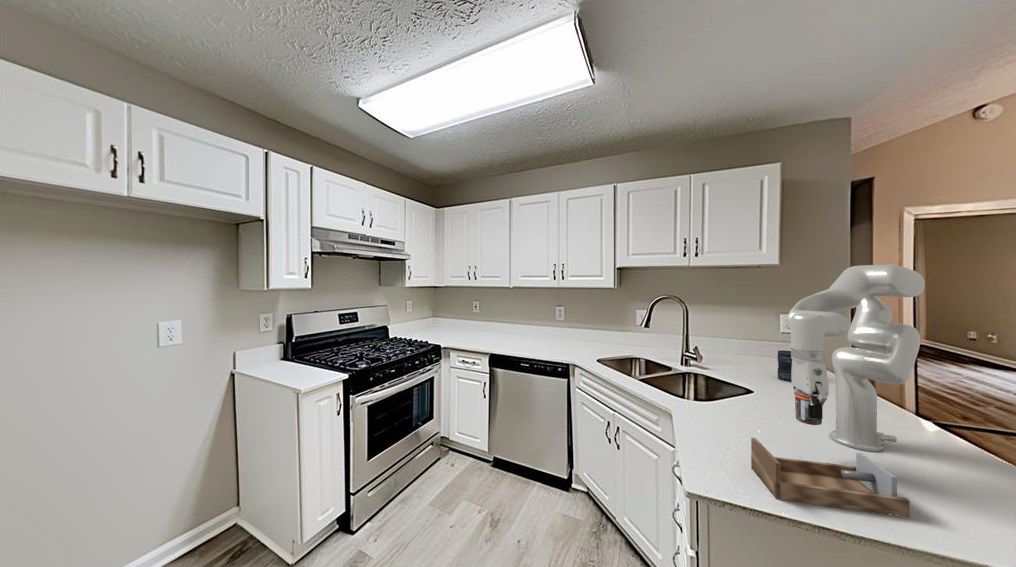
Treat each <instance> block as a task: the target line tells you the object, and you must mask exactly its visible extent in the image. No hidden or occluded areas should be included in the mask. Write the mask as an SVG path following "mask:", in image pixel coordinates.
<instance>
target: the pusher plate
mask: <svg viewBox="0 0 1016 567" xmlns="http://www.w3.org/2000/svg"><path fill="white" fill-rule="evenodd" d="M855 455H856V456H855V465H856V472H855V471H847V470H841V476H842V477H843V478H844V479H850V480H858V481H860V482H861V483H862V484H864V485H865V486H866V487H867V488H869V489H870V490H871V491H872V492H874V493H875V494H880V495H888V496H896V497H898V477H897V476H895V475H894V474H892V473H891V472H890V471H888V470H886V468H883V467H882V466H881V465H879V464H878V463H876V462H875V461H873V460H872V459H870V458H868V457H867V455H865V454H864V453H863V454H862V453H859V452H856V453H855Z"/></svg>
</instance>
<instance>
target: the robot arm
mask: <svg viewBox="0 0 1016 567" xmlns="http://www.w3.org/2000/svg"><path fill="white" fill-rule="evenodd" d="M925 283H926V282H925V280H924V277H923V276H922V275H921V274H920V273H919V272H917V271H916V270H913V269H910V268H907V267H904V266H901V265H896V264H865V265H862V264H861V265H853V266H850V267H847V268H846V269H844V270H843V272H842V273H841V274H840V275H839V276H838V277H837V278H836V280H835V281H834V282H833V283H832V285H831V286H830V287H829V288H828V289H825V290H822V291H819V292H816V293H813V294H812V295H809V296H806V297H804V298H803V299H801V300H799V301H798V302H796V304H794V306H793V307H792V308H791V309H790V311H789V312H788V314H787V316H786V320H785V322H786V325H787V328H788V329H789V330H790V351H791V358H792V370H791V379H792V382H791V384H792V386H793V390H794V393H793V394H794V395H795V391H796V390H798V389H799V390H801V391H803V392H804V393H806V394H808V398H809V402H810V404H808V417H809V418H812V419H822V420H823V418H824V417H823V411H824V410H823V407H824V403H825V402H826V401H827V400H828V396H829V394H830V393H829V390H830V389H829V379H828V377H829V376H828V372H827V371H828V370H827V366H826V363H825V361H826V360H825V338H827V337H829V338H838V337H841V336H844V335H845V334H846V333H847V341H848V343H849V344H850V345H851V346H854V347H850V346H843V347H839V348H837V349H835V350H834V351H833V352H832V355H831V362H832V364H831V365H832V367H833V372H834V378H835V430H831V431H830V432H829V437H830V438H831V439H832V440H833V441H835V442H836V443H839V444H841V445H843V446H846V447H850V448H853V449H856V450H857V449H858V450H861V451H867V452H868V451H869V452H882V451H884V449H885V445H884V443H883V442H885V441H886V442H890V443H891V442H892V443H896V442H897V436H895V435H890V434H885V433H884V432H882V431H880V432H879V431H878V418H877V410H878V393H877V390H876V388H875V387H874V385H873V384H872V382H870V381H876V382H881V383H886V384H890V385H904V384H906V383H907V382H908V381H909V379H910V377H911V375H912V373H913V369H914V366H915V363H916V360H917V356H918V353H919V351H920V345H921V336H920V335H921V334H920V333H919V331H918V329H917V328H915V326H912V325H909V324H906V323H905V324H904V323H898V322H891V321H892V318H893V311H892V309H891V308H890V307H889V306H888V305H887V304H886V303H885V302H884V301H882V299H880V298H879V297H890V298H891V297H892V298H914V297H917V296H919V295H921V294H922V292H923V291H924V290H925V285H926V284H925ZM853 308H856V309H855V313H854V316H853V319H852V321H851V324H850V323H849V322H850V321H849V320H848V318H847V317H846V316H845V315H844V314H841V313H838V312H841V311H845V310H850V309H853ZM812 392H817V394H813V393H812ZM813 397H817V398H815V399H814V400H813Z"/></svg>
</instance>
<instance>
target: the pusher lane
mask: <svg viewBox="0 0 1016 567" xmlns="http://www.w3.org/2000/svg"><path fill="white" fill-rule="evenodd" d="M750 440H751V443H750V444H751V445H750V447H751V448H750V449H751V450H750V451H751V452H750V453H751V454H750V456H751V457H750V459H751V460H750V461H751V462H750V464H751V466H750V467H751V470H752V471H753V472H754V473H755V474H756V476H757V477H758V478H759V480H761V483H763V484H764V486H765V487H766V489H767V490H768V491H769V492H770V493H771V495H773V497H774V498H775V500H782V501H789V502H790V501H791V502H796V503H803V504H811V505H815V506H824V507H830V508H839V509H845V510H850V511H858V510H859V511H860V512H865V511H866V513H872V512H873V514H879V513H883V514H882V515H886V514H892V515H891V516H893V515H899V516H898V517H900V516H905V517H904V518H907V517H910V516H911V513H910V512H911V511H910V509H911V508H910V505H911V503H910V502H911V501H910V499H908V498H907V497H902V496H897V497H896V496H888V495H880V494H875V493H874V492H872V491H871V490H870V489H869V488H867V487H866V486H865V485H864V484H862V483H861V482H860V481H858V480H850V479H844V478H843V477H842V476H841V470H847V471H855V472H856V466H855V465H846V464H838V463H832V462H831V463H830V462H820V461H819V462H818V461H814V460H811V461H810V460H803V459H795V458H794V459H793V458H786V457H777V456H774V455H773V454H772V453H771V452H770V451H769V450H768V449H767V448H766V447H765V446H764V445H763V443H761V442H760V441H759V440H758V438H756V437H750ZM910 518H911V517H910Z"/></svg>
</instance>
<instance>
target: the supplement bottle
mask: <svg viewBox="0 0 1016 567" xmlns="http://www.w3.org/2000/svg"><path fill="white" fill-rule="evenodd" d="M794 392H795V394H794V405H795V406H794V407H795V408H794V409H795V413H794V414H795V419H796V421H798V422H800V423H802V424H806V425H809V426H810V425H811V426H820V425H821V424H823V423H822V422H823V418H822V419H812V418H809V417H808V404H810V402H809V398H808V394H806V393H804V392H803V391H801V390H799V389H798V390H796V391H795V390H794ZM812 393H813V394H817V392H812ZM815 398H817V397H813V400H814V399H815Z"/></svg>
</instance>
